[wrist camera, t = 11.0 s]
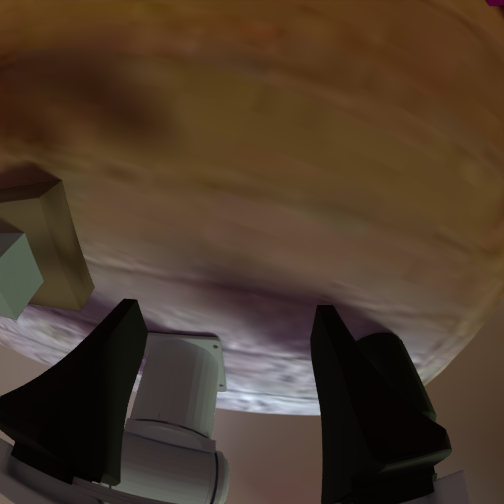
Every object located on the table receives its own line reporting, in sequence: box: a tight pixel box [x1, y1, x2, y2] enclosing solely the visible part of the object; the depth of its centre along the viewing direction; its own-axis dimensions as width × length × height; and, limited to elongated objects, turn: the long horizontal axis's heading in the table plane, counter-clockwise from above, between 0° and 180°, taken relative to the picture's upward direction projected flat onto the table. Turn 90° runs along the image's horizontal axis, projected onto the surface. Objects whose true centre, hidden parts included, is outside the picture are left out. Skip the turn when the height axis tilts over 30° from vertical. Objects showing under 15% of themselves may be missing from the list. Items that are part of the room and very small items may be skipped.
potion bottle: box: [357, 333, 437, 481], centre depth 20 cm, size 8×8×18 cm
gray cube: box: [0, 233, 44, 320], centre depth 17 cm, size 4×4×4 cm
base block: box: [0, 180, 95, 311], centre depth 20 cm, size 10×10×3 cm
